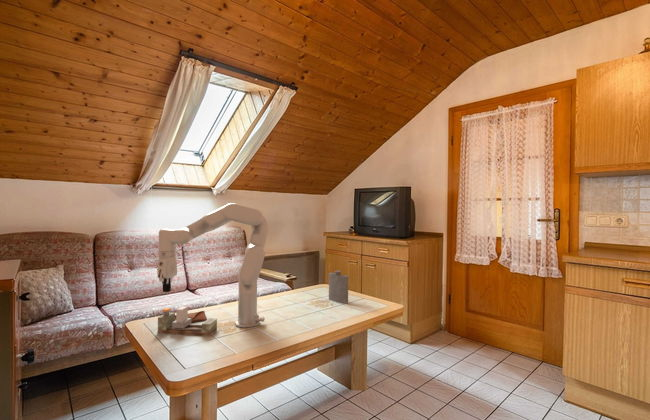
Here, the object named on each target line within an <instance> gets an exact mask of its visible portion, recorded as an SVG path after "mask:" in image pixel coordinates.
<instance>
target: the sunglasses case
mask: <svg viewBox="0 0 650 420" xmlns="http://www.w3.org/2000/svg"><path fill="white" fill-rule="evenodd" d="M188 318H191V324H196V323H200V322H205V321H206V320H208V317H207V315H206V313H205V310H200V311H197V312H190V313H188ZM175 320H176V314H175Z"/></svg>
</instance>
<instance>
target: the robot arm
mask: <svg viewBox="0 0 650 420" xmlns="http://www.w3.org/2000/svg"><path fill="white" fill-rule="evenodd" d="M232 221H233V222H235V223H239V224H243V225H248V226H250V227H251V230H250V231H251V232H250V235H249V238H248V242H247V246H246V248H245V251H244V254H245V255H244V258H243V261H242V265H240V267H239V269H238V272H237V273H238V275H237V276H238V277H237V278H238V292H237V293H238V302H237V303H238V307H237V311H238V312H237V313H238V314H237V315H238V317H237V319H236V320H235V321H234V325H235V326H236V327H238V328H252V327H255V326H256V327H257V326H258V325H259V324H260V323H261V322H263V323H264V322H265V317H264V316H260V315H259V313H258V279H259V277H260V275H261V274H260V273H261V271H262V268H263V264H264V261H265V255H266V254H265V250H264V249H265V244H266V242H267V237H268V231H269V226H268V222H267V219H266V217H265V216H264V214H263V212H262V211H260V210H259V209H257V208H252V207H249V206H244V205H242V204H241V205H240V204H237V203H233V202H230V203H227V204H226V205H223V206H221V207H219V208H217V209H216V210H213V211H212V212H210V213H208V214H205V215H204V216H202V217H201V218H200V219H198V220H196V221H193V222H192V223H191V224H189V225H187V226H185V227H182V228H180V229H174V228H162V229H160V230H158V261H157V270H156V271H157V272H156V274H157V275H156V276H157V278H158V279H159V280H158V282H161V283H162V292H163V293H169V292H171V291H172V280H173V278H174V277H176V276H177V275H178V265H177V264H178V263H177V257H176V244H177V245H187V244H188V243H189V242H191V241H193V240H194V239H196V238H198V237H200V236H202V235H204V234H206V233H209V232H213V231H215V230H217V229H220V228H221V227H223V226H224V225H226V224H227V225H228V223H230V222H232Z"/></svg>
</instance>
